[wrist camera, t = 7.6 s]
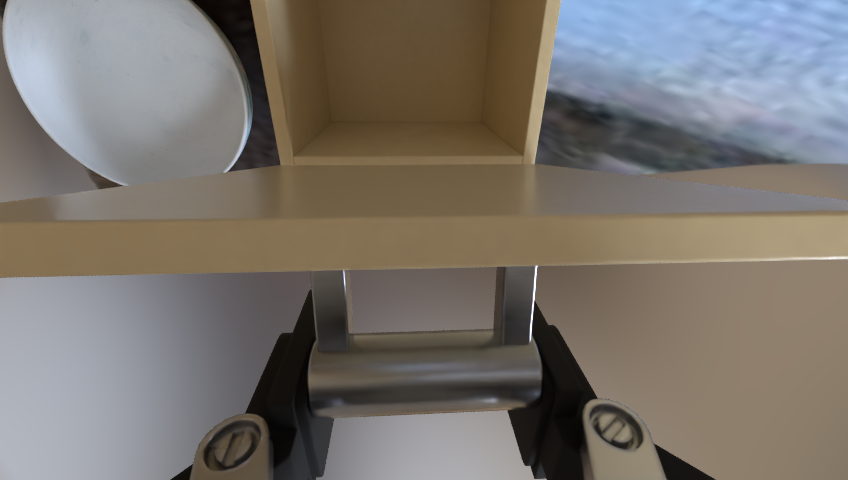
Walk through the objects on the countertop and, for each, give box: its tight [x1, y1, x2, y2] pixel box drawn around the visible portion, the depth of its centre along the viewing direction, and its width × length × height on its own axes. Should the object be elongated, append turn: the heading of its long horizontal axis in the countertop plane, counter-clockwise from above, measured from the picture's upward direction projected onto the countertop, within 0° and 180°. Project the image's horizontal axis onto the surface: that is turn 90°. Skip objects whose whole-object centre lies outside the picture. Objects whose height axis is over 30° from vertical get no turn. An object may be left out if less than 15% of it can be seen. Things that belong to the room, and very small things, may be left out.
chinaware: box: [2, 0, 252, 186], centre depth 27 cm, size 15×15×8 cm
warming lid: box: [0, 164, 848, 419], centre depth 13 cm, size 16×16×5 cm
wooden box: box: [250, 0, 561, 165], centre depth 24 cm, size 16×16×14 cm
